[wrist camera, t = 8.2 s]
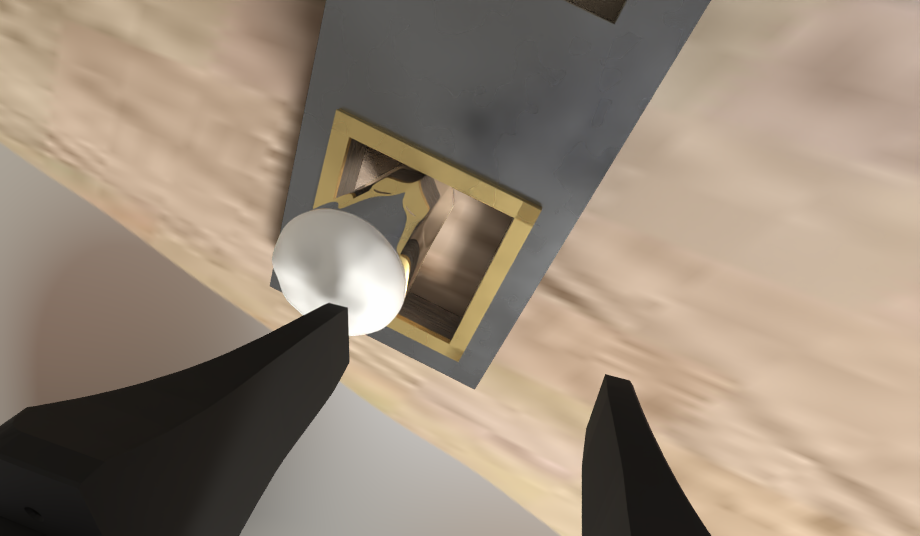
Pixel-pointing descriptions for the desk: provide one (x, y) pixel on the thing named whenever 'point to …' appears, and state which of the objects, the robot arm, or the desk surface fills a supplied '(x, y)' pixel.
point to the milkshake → (363, 247)
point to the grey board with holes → (482, 130)
